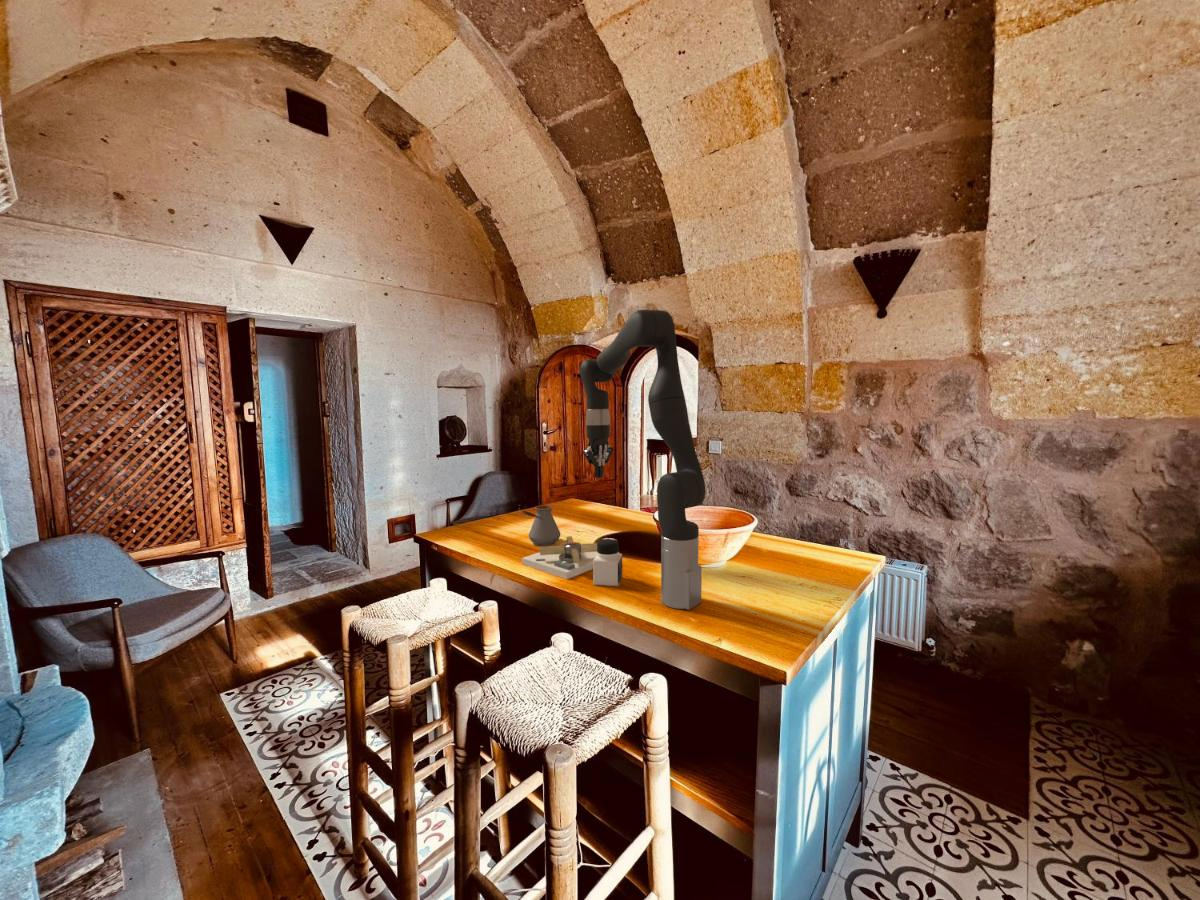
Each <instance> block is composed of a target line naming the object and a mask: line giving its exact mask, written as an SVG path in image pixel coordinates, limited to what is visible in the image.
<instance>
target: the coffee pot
mask: <svg viewBox="0 0 1200 900" xmlns="http://www.w3.org/2000/svg"><path fill="white" fill-rule="evenodd" d="M553 509H554V507H553V506H552V505H537V506H535V507H534V510H535V511H536V513H532V512H531V511H527V510H522V511H520V512H519V514H518V515H519V516H521V513H522V514H524V516H522V518H524V517H525V516H526V515H527V516H528V517H533V518H534V520H533V523H532V526H531V527H530V530H529V532H528V535H527V537H528V538H529V540H530V541H531V542H532V543H533V544H534V545H535V546H536V545H537V546H541V547H544V546H552V545H554V544H555V543H556V542H557V541H558V540H559V539H560V537H561V532H560V529H559V527H558V525H557V523H556V521H555V518H554V516H553V514H552V510H553Z"/></svg>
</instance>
